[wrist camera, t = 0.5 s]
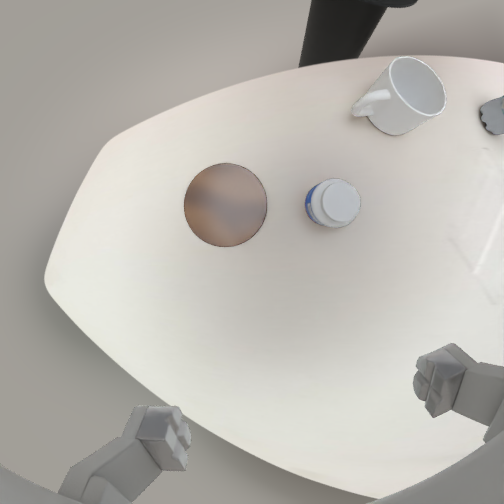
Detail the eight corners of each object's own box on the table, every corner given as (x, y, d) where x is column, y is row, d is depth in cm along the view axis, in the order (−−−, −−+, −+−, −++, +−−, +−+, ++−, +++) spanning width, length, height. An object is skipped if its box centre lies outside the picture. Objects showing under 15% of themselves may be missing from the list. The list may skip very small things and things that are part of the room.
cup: (419, 131, 33) (456, 112, 23) (354, 148, 34) (382, 126, 24) (397, 83, 32) (426, 54, 22) (331, 96, 33) (349, 61, 23)
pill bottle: (330, 177, 35) (351, 164, 25) (350, 212, 35) (378, 211, 26) (295, 197, 35) (305, 191, 26) (316, 233, 36) (334, 239, 26)
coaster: (184, 166, 36) (184, 165, 35) (266, 162, 35) (266, 162, 35) (185, 246, 37) (184, 247, 37) (267, 246, 36) (267, 246, 36)
